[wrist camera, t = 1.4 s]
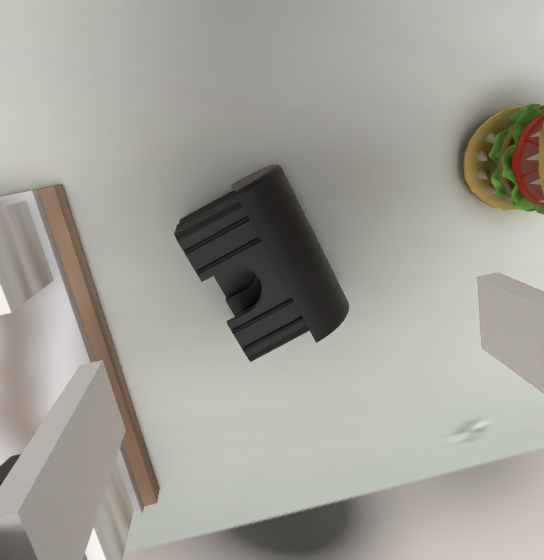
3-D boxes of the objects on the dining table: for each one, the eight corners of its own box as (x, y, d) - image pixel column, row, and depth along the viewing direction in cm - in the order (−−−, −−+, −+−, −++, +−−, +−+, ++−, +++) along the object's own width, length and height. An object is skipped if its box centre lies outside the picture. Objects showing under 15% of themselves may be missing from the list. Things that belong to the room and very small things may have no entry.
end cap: (334, 287, 33) (363, 319, 26) (248, 333, 33) (256, 376, 26) (271, 161, 30) (286, 163, 23) (178, 212, 30) (167, 228, 24)
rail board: (62, 184, 29) (-2, 196, 20) (159, 488, 35) (141, 591, 27) (-116, 219, 28) (-257, 247, 20) (18, 523, 35) (-44, 639, 26)
